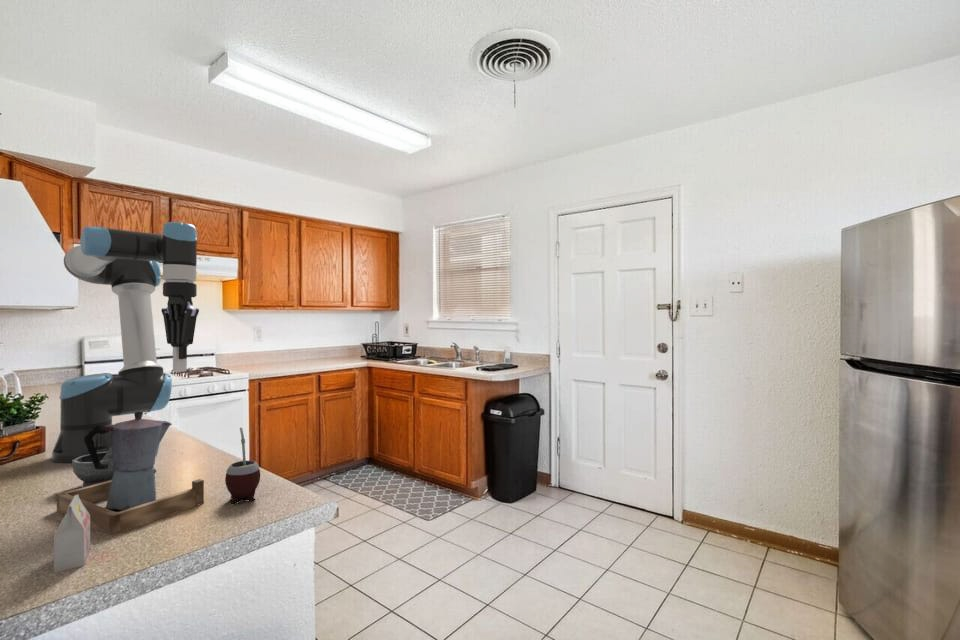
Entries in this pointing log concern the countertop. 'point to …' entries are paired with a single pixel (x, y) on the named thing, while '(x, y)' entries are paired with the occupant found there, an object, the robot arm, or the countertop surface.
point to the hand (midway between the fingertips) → (179, 371)
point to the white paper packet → (72, 537)
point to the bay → (131, 516)
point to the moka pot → (130, 459)
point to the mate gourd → (242, 477)
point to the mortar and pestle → (93, 468)
